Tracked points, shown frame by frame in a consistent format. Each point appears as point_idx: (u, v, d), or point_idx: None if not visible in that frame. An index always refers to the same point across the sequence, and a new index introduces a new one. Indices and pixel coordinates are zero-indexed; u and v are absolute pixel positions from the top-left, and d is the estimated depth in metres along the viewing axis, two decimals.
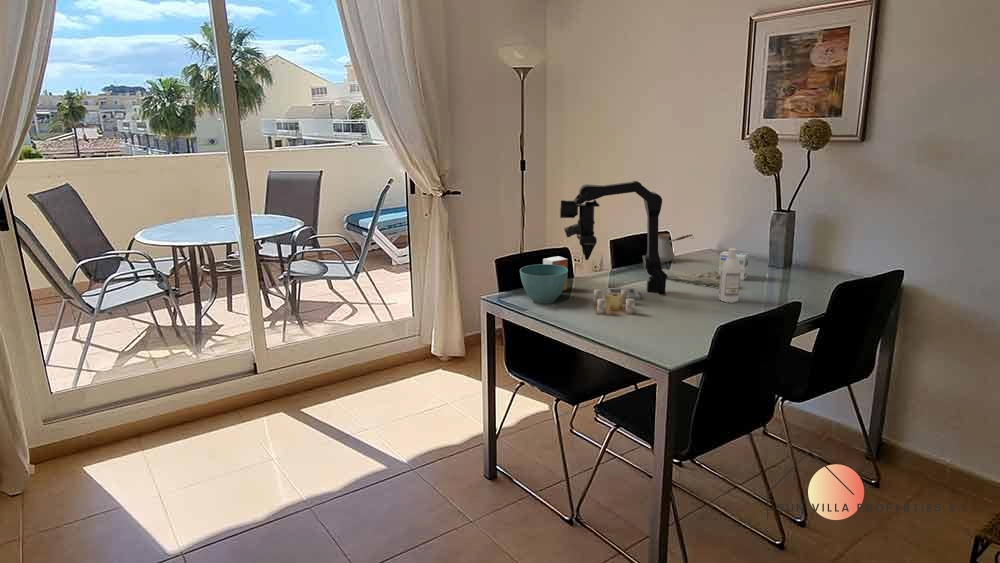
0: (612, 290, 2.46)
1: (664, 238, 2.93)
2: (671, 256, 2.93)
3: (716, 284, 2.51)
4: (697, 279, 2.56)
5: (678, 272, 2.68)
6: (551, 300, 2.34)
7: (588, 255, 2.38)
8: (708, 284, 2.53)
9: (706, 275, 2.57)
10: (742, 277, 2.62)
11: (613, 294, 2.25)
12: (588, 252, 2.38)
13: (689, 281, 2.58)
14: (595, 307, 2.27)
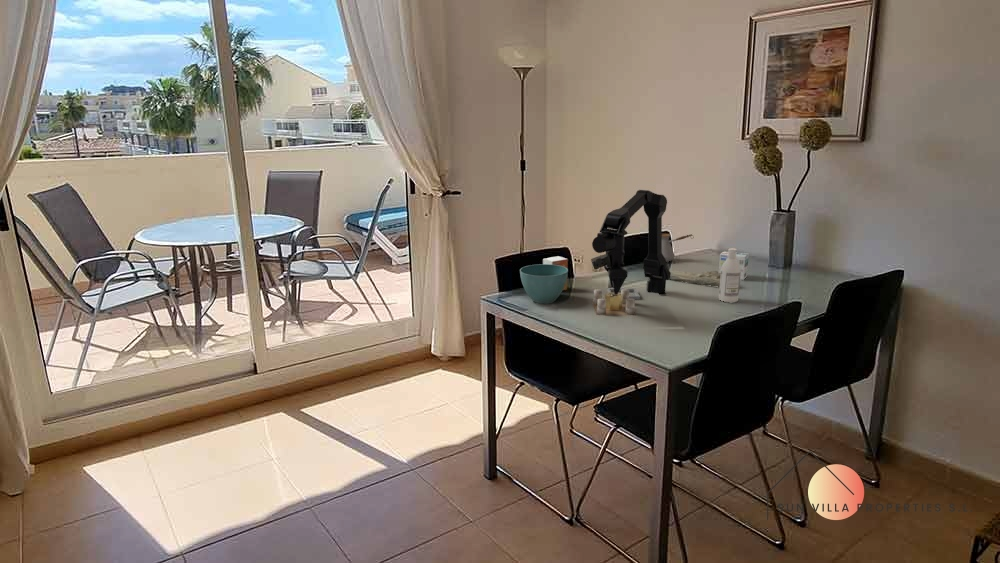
0: (612, 290, 2.46)
1: (664, 238, 2.93)
2: (671, 256, 2.93)
3: (718, 283, 2.52)
4: (698, 279, 2.56)
5: (678, 272, 2.68)
6: (551, 300, 2.34)
7: (618, 289, 2.19)
8: (710, 284, 2.54)
9: (707, 275, 2.58)
10: (742, 277, 2.62)
11: (613, 294, 2.25)
12: (618, 286, 2.18)
13: (690, 281, 2.59)
14: (595, 307, 2.27)
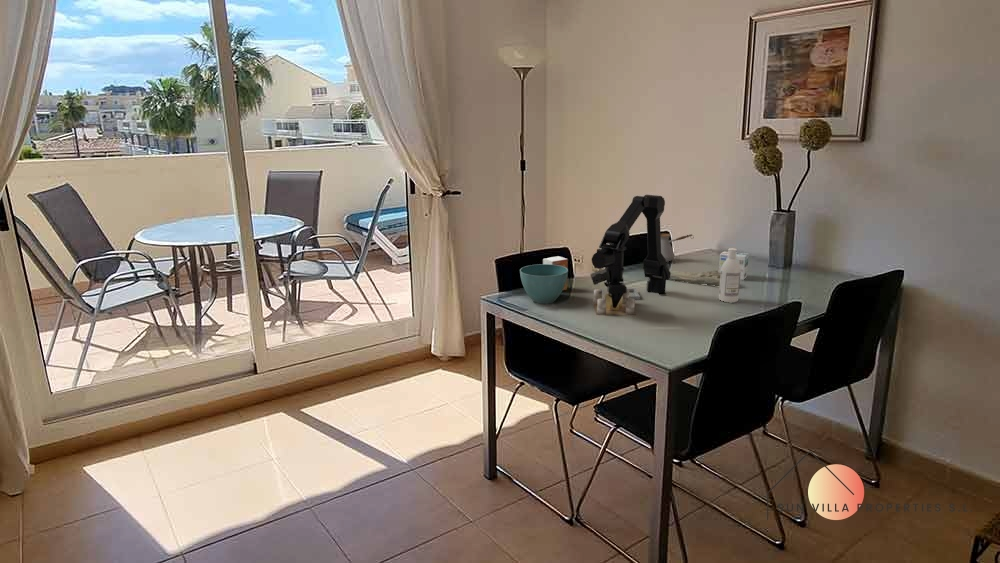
0: None
1: (664, 238, 2.93)
2: (671, 256, 2.93)
3: (719, 283, 2.53)
4: (699, 279, 2.56)
5: (677, 272, 2.68)
6: (551, 300, 2.34)
7: (616, 303, 2.22)
8: (711, 283, 2.54)
9: (707, 274, 2.58)
10: (742, 277, 2.62)
11: None
12: (617, 300, 2.21)
13: (691, 281, 2.59)
14: (595, 307, 2.27)
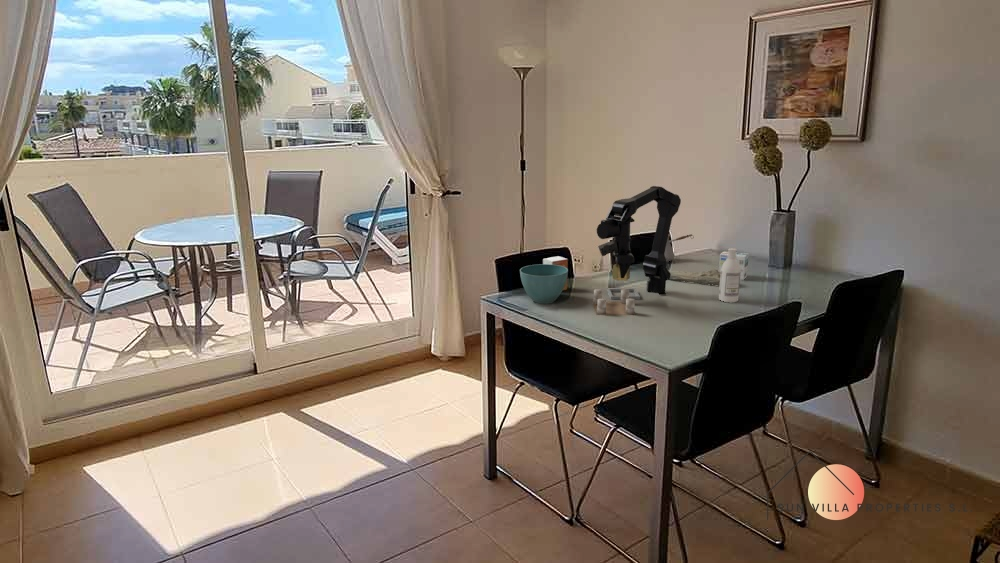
0: (612, 290, 2.46)
1: None
2: (671, 256, 2.93)
3: None
4: (701, 278, 2.57)
5: (677, 272, 2.68)
6: (551, 300, 2.34)
7: (624, 273, 2.29)
8: (712, 283, 2.55)
9: (708, 274, 2.59)
10: (742, 277, 2.62)
11: None
12: (624, 270, 2.28)
13: (692, 280, 2.59)
14: (595, 307, 2.27)
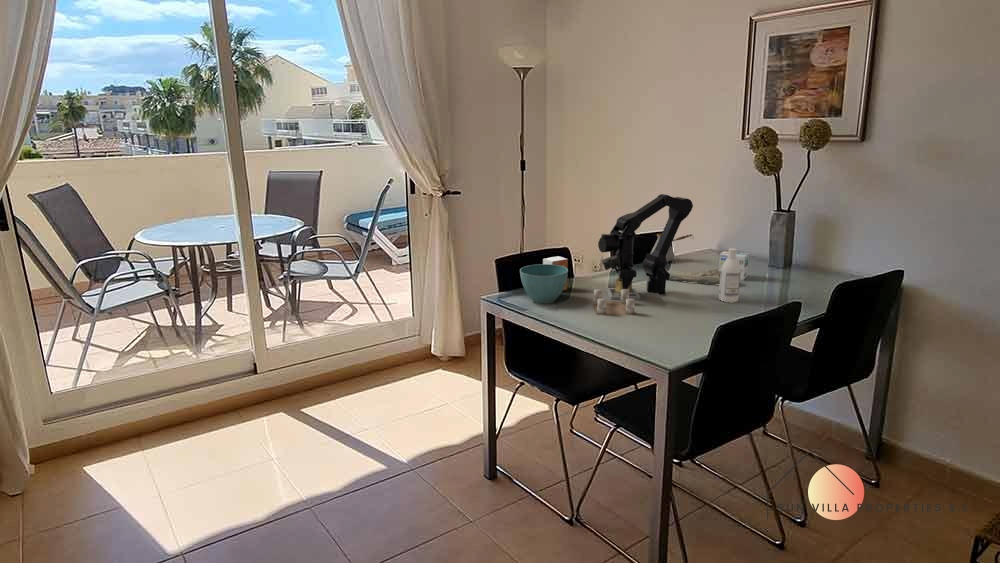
0: (612, 290, 2.46)
1: None
2: (671, 256, 2.93)
3: None
4: (702, 278, 2.57)
5: (677, 272, 2.67)
6: (551, 300, 2.34)
7: (626, 287, 2.36)
8: (714, 282, 2.56)
9: (708, 273, 2.60)
10: (742, 277, 2.62)
11: None
12: (627, 284, 2.36)
13: (693, 280, 2.59)
14: (595, 307, 2.27)
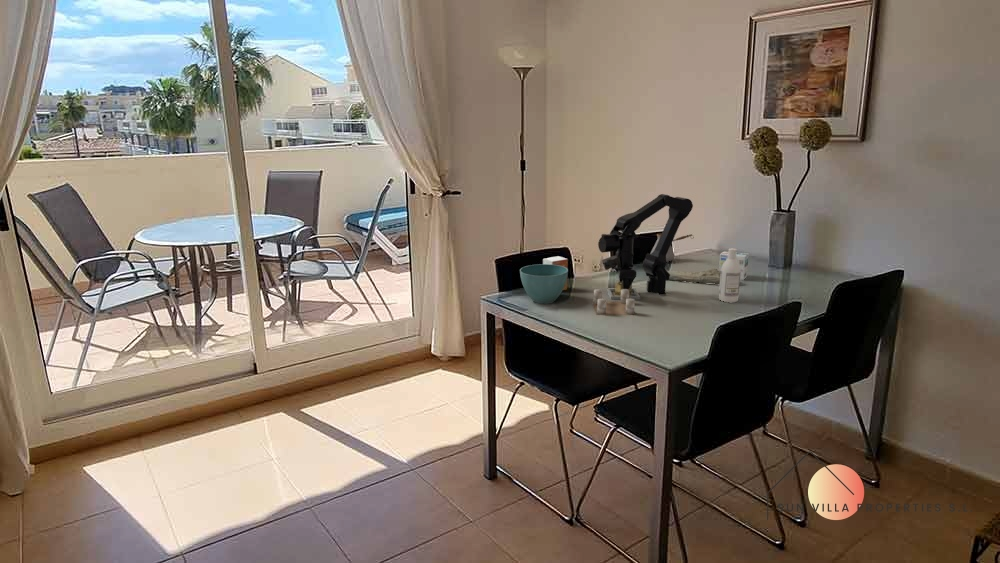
0: (612, 290, 2.46)
1: None
2: (671, 256, 2.93)
3: None
4: (703, 278, 2.57)
5: (677, 272, 2.67)
6: (551, 300, 2.34)
7: (627, 288, 2.35)
8: (714, 282, 2.56)
9: (709, 273, 2.60)
10: (742, 277, 2.62)
11: None
12: (627, 286, 2.34)
13: (694, 280, 2.59)
14: (595, 307, 2.27)
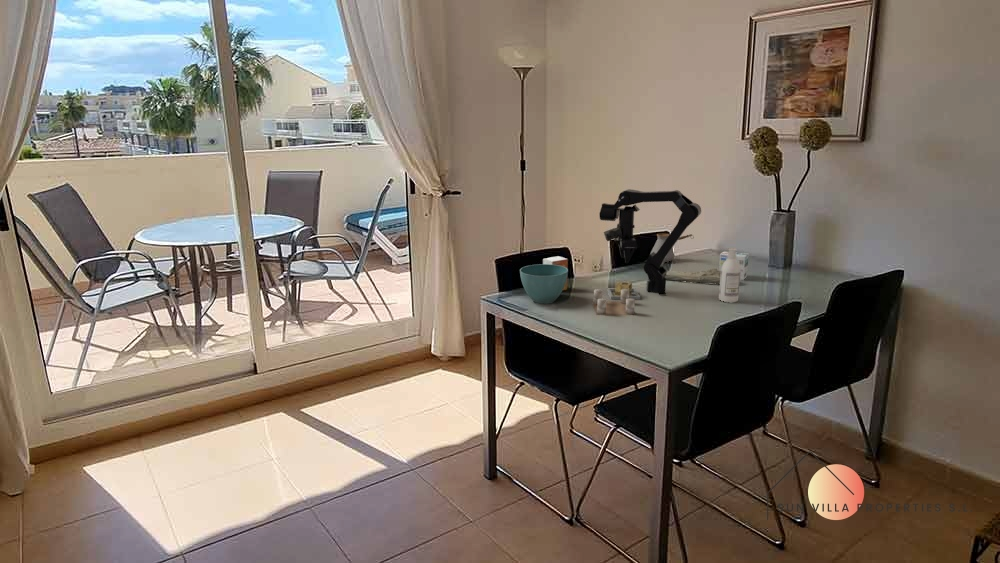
0: (612, 290, 2.46)
1: (664, 238, 2.93)
2: (671, 256, 2.93)
3: None
4: (703, 278, 2.58)
5: (676, 272, 2.67)
6: (551, 300, 2.34)
7: (628, 258, 2.43)
8: (715, 282, 2.56)
9: (709, 273, 2.60)
10: (742, 277, 2.62)
11: (623, 283, 2.40)
12: (629, 256, 2.43)
13: (694, 280, 2.59)
14: (595, 307, 2.27)
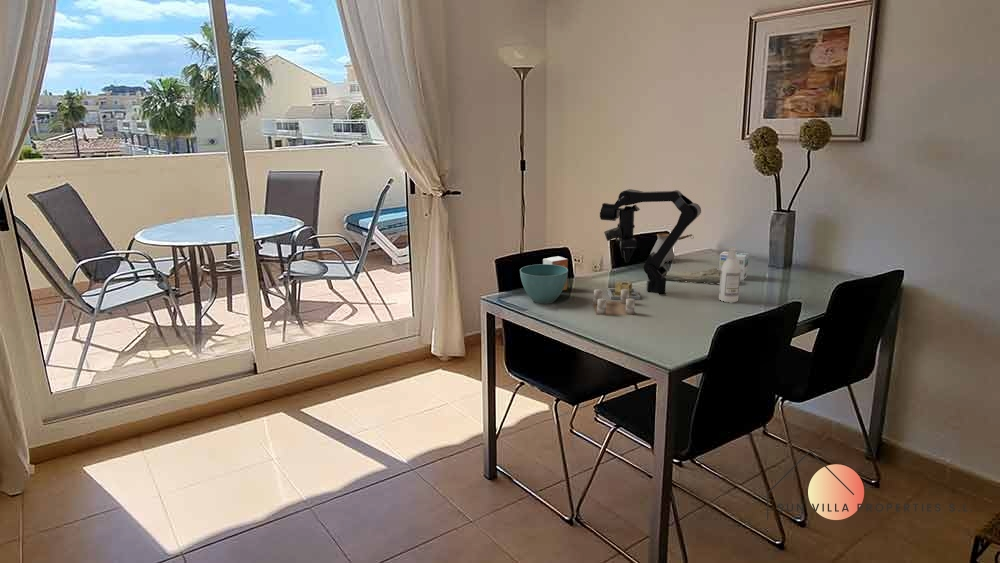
0: (612, 290, 2.46)
1: (664, 238, 2.93)
2: (671, 256, 2.93)
3: None
4: (704, 277, 2.58)
5: (676, 272, 2.67)
6: (551, 300, 2.34)
7: (628, 258, 2.44)
8: (715, 281, 2.57)
9: (709, 273, 2.61)
10: (742, 277, 2.62)
11: (623, 283, 2.40)
12: (629, 256, 2.43)
13: (695, 280, 2.59)
14: (595, 307, 2.27)
